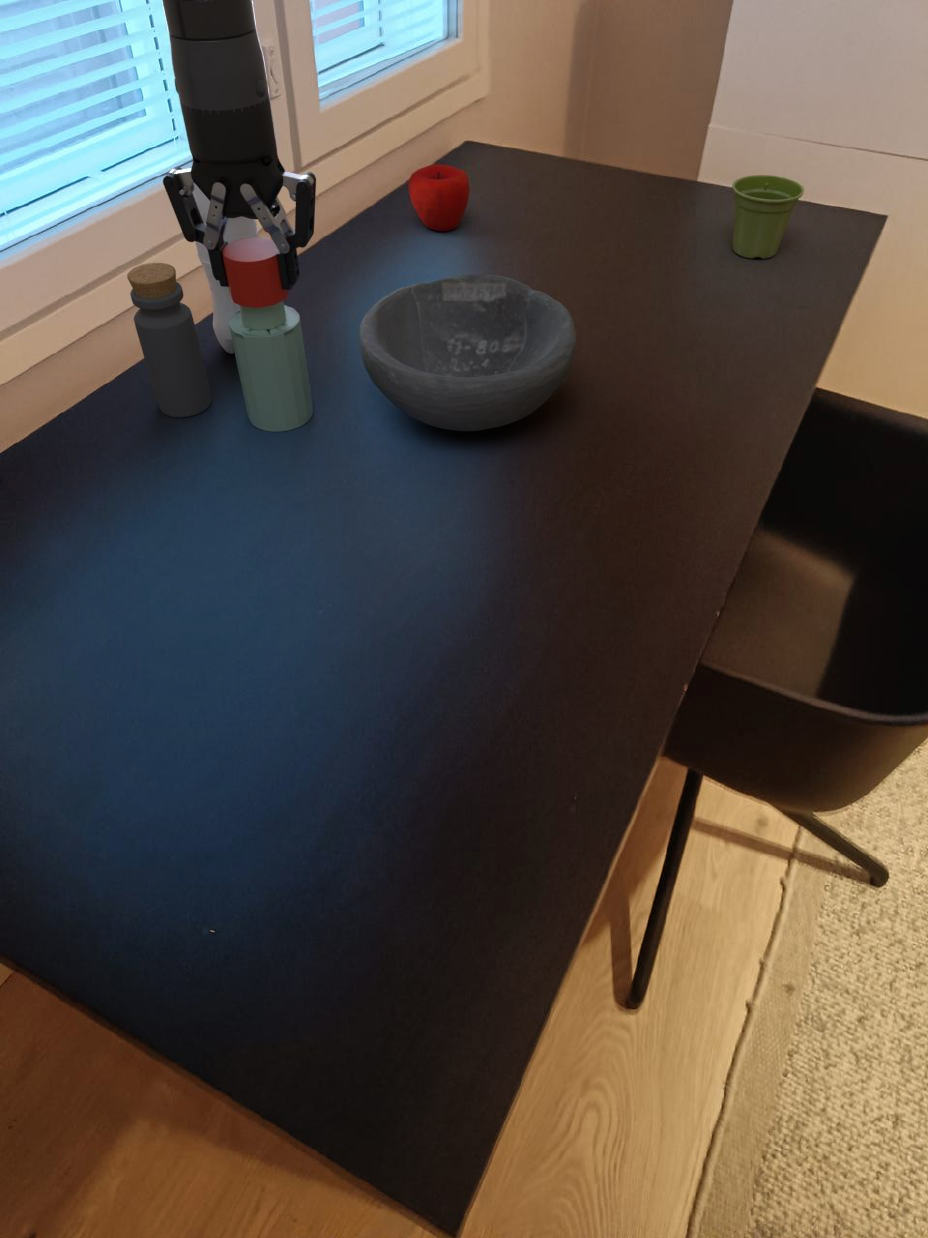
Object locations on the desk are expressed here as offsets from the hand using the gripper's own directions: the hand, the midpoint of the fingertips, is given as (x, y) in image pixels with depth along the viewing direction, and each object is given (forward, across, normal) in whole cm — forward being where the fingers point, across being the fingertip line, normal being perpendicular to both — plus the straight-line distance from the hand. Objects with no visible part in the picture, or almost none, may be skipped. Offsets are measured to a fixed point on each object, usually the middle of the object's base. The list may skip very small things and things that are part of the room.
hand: (258, 284), depth 88 cm
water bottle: (+15, +8, -14) cm, 22 cm away
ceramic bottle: (+15, 0, 0) cm, 15 cm away
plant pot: (+15, -55, -49) cm, 75 cm away
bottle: (+15, +11, -1) cm, 19 cm away
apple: (+15, -9, -52) cm, 55 cm away
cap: (+1, 0, 0) cm, 1 cm away
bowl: (+15, -20, -5) cm, 25 cm away
